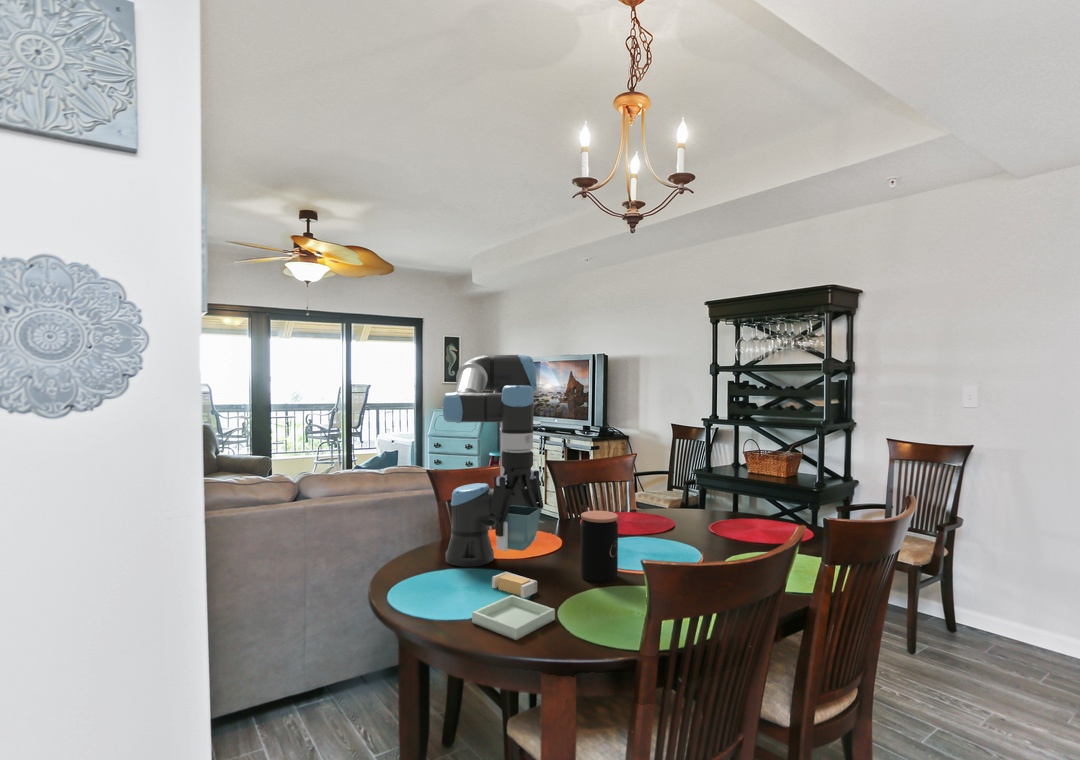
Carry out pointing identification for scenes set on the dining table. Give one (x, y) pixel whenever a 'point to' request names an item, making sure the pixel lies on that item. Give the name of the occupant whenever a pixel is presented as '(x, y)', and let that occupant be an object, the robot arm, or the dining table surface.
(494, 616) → the shallow square tray
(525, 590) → the clip
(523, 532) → the flower pot
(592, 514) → the coffee jar
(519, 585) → the tan rectangular block
